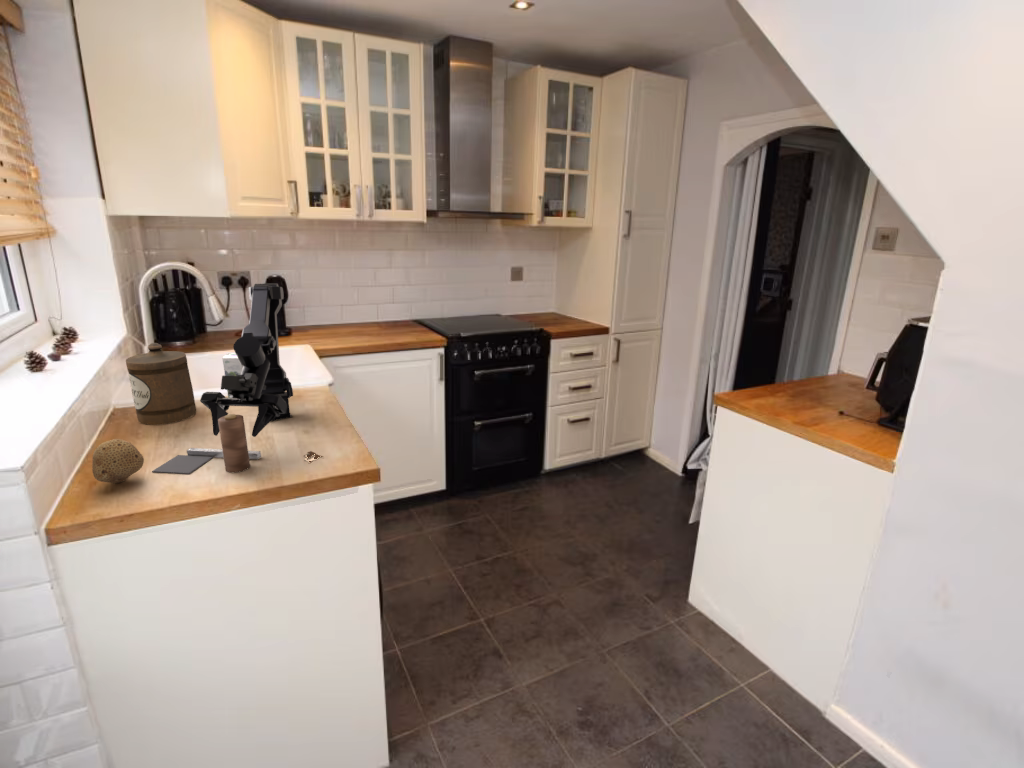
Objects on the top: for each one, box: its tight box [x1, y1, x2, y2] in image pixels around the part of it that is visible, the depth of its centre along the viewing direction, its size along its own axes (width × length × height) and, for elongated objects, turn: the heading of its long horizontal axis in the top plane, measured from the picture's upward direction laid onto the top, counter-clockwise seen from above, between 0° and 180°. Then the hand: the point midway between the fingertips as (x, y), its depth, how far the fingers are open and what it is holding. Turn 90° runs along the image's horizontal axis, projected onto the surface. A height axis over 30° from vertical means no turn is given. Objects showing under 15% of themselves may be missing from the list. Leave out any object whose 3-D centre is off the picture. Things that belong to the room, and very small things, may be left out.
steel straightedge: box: [186, 447, 262, 460], centre depth 132 cm, size 18×2×2 cm, turn 86°
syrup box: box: [222, 353, 243, 398], centre depth 173 cm, size 6×6×14 cm
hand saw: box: [303, 450, 324, 463], centre depth 138 cm, size 24×5×1 cm, turn 51°
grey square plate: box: [151, 454, 214, 475], centre depth 128 cm, size 9×9×1 cm
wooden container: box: [125, 342, 197, 426], centre depth 155 cm, size 15×15×22 cm
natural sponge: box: [91, 438, 145, 484], centre depth 118 cm, size 9×9×10 cm
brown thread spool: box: [218, 413, 251, 473], centre depth 125 cm, size 5×5×13 cm
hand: (234, 435), depth 125 cm, fingers open, 9 cm apart
